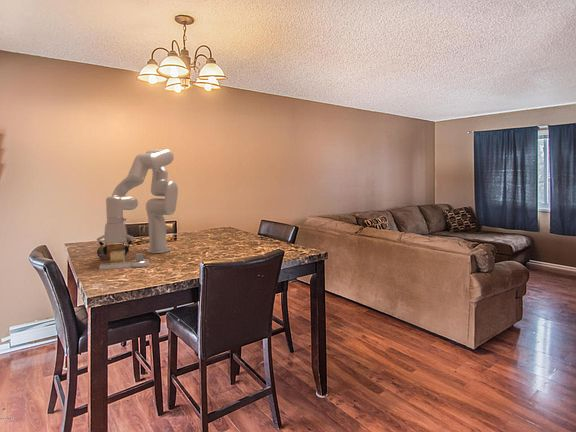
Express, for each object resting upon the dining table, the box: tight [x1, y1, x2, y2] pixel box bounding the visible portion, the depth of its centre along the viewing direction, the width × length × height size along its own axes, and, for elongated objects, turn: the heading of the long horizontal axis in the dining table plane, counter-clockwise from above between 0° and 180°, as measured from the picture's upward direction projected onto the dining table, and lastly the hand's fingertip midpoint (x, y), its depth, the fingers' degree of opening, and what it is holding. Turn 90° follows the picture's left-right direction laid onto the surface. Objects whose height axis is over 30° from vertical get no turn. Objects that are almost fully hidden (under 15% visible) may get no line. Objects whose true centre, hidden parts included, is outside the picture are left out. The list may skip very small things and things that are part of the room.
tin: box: [96, 243, 128, 261], centre depth 197 cm, size 15×3×8 cm, turn 101°
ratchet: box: [98, 252, 150, 271], centre depth 181 cm, size 9×22×6 cm, turn 108°
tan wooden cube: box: [110, 251, 126, 263], centre depth 187 cm, size 6×6×6 cm
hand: (116, 253), depth 186 cm, fingers open, 9 cm apart
